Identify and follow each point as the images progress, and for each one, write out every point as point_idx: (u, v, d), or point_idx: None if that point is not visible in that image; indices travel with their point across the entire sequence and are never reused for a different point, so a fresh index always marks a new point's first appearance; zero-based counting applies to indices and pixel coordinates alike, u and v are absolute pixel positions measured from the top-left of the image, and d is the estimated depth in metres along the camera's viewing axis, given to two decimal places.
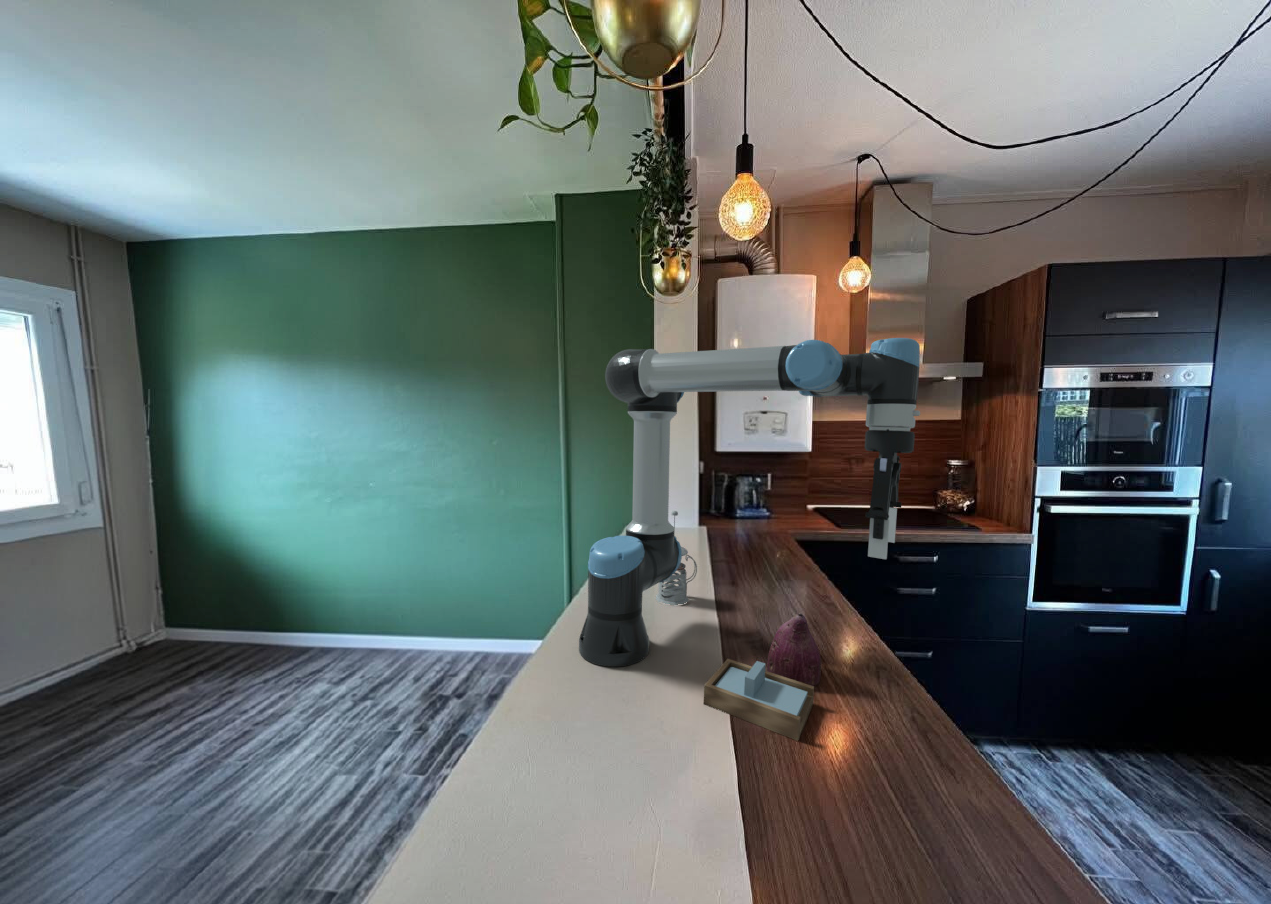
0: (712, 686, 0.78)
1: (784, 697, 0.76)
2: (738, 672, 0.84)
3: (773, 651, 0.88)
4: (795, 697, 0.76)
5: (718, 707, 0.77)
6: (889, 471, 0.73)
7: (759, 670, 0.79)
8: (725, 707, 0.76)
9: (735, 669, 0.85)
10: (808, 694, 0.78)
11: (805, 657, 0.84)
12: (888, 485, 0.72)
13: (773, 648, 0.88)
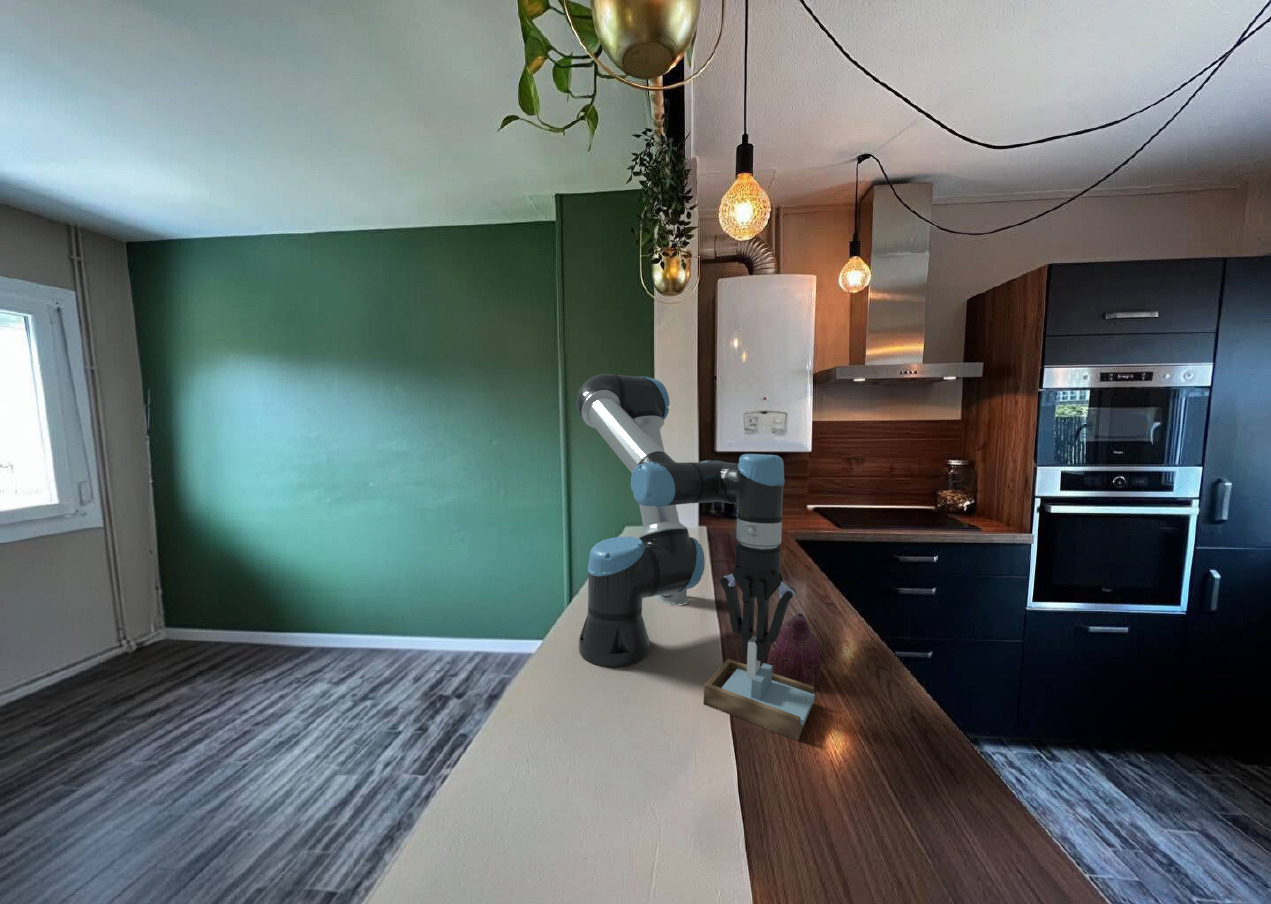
0: (712, 686, 0.78)
1: (791, 700, 0.76)
2: (744, 674, 0.83)
3: (773, 651, 0.88)
4: (803, 700, 0.76)
5: (718, 707, 0.77)
6: (725, 590, 0.80)
7: (766, 672, 0.78)
8: (725, 707, 0.76)
9: (742, 671, 0.84)
10: None
11: (805, 657, 0.84)
12: (727, 603, 0.80)
13: (773, 648, 0.88)
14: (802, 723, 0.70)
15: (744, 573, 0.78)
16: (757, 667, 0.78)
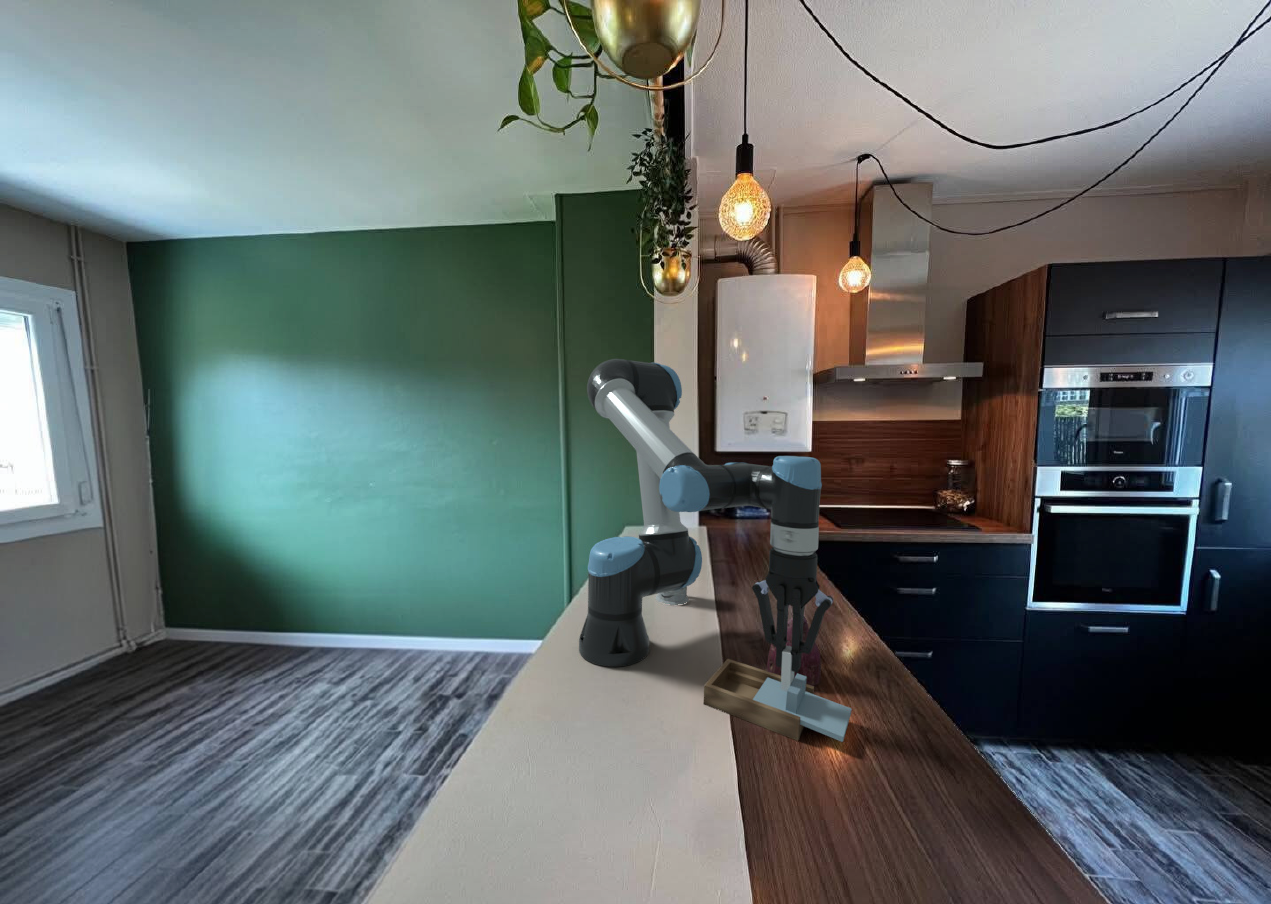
0: (712, 686, 0.78)
1: (828, 714, 0.72)
2: (776, 684, 0.80)
3: (773, 651, 0.88)
4: (839, 714, 0.72)
5: (718, 707, 0.77)
6: (757, 597, 0.77)
7: (801, 683, 0.75)
8: (725, 707, 0.76)
9: (772, 680, 0.81)
10: None
11: (805, 657, 0.84)
12: (760, 611, 0.77)
13: (773, 648, 0.88)
14: (841, 740, 0.67)
15: (778, 580, 0.75)
16: (791, 678, 0.75)
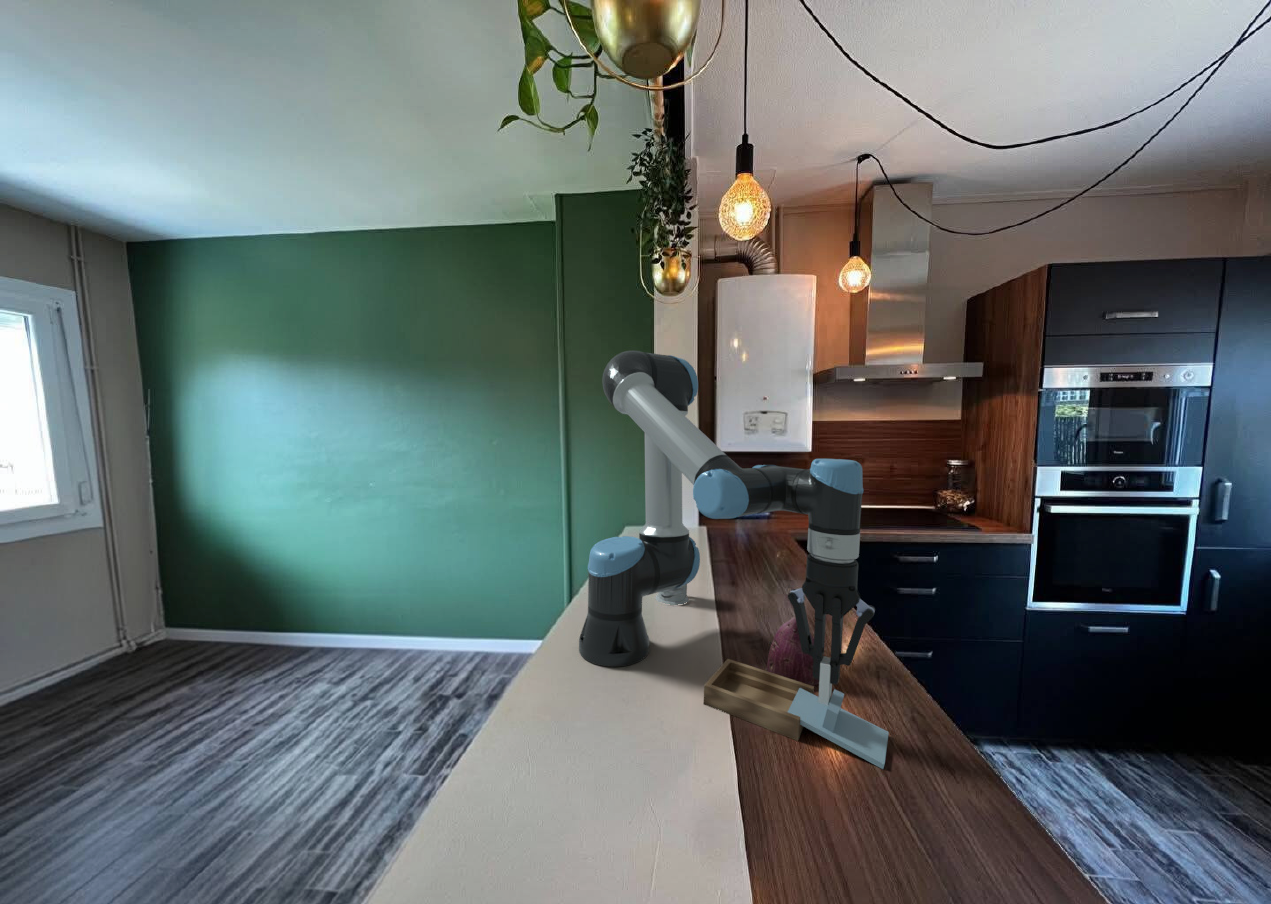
0: (712, 686, 0.78)
1: (866, 736, 0.69)
2: (809, 696, 0.77)
3: (773, 651, 0.88)
4: (877, 737, 0.70)
5: (718, 707, 0.77)
6: (793, 606, 0.74)
7: (840, 701, 0.72)
8: (725, 707, 0.76)
9: (805, 692, 0.78)
10: None
11: (805, 657, 0.84)
12: (796, 621, 0.73)
13: (773, 648, 0.88)
14: (882, 767, 0.64)
15: (816, 588, 0.72)
16: (830, 690, 0.72)
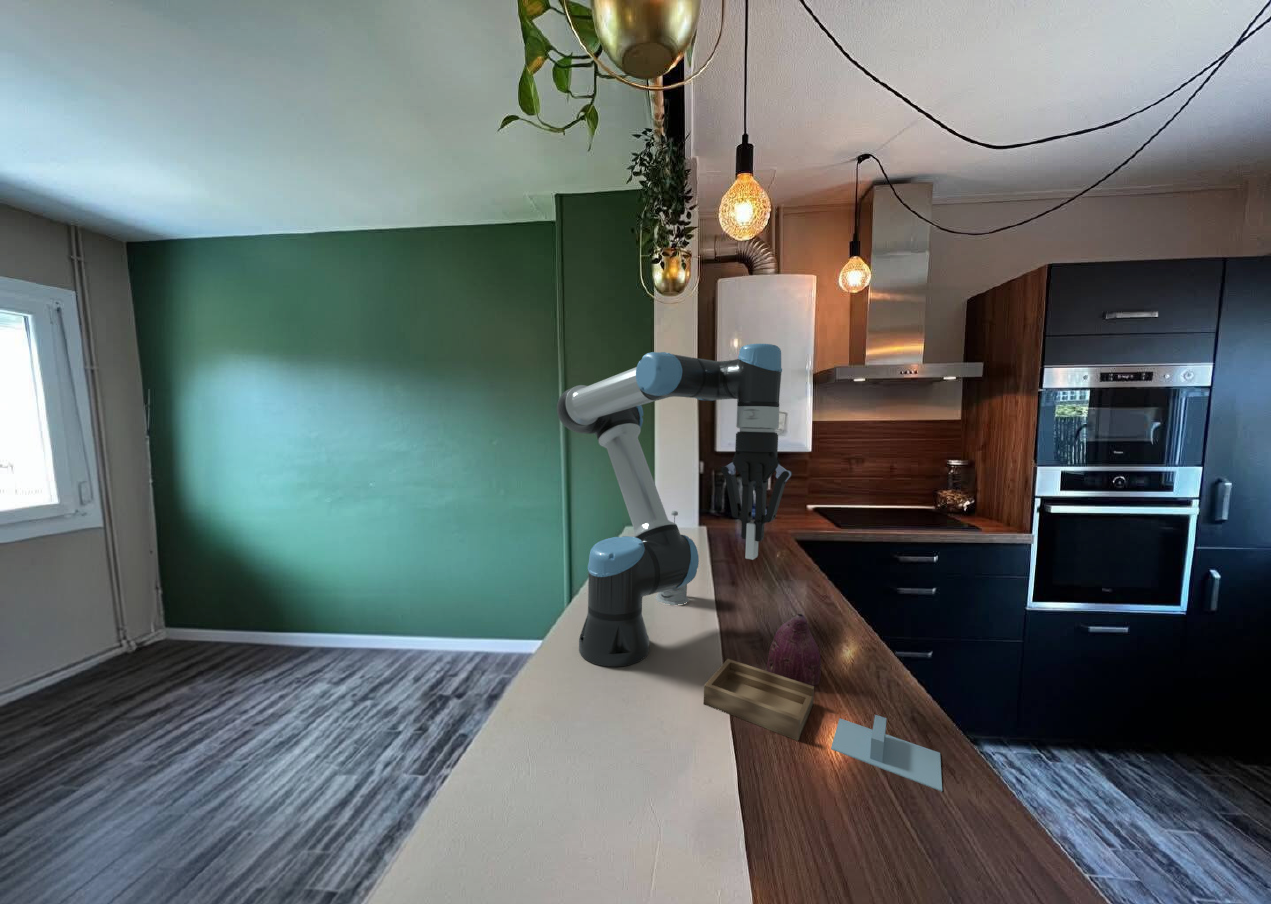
0: (712, 686, 0.78)
1: (917, 761, 0.66)
2: (851, 726, 0.73)
3: (773, 651, 0.88)
4: (929, 761, 0.66)
5: (718, 707, 0.77)
6: (725, 477, 0.85)
7: (883, 727, 0.68)
8: (725, 707, 0.76)
9: (846, 722, 0.74)
10: (808, 694, 0.78)
11: (805, 657, 0.84)
12: (727, 490, 0.85)
13: (773, 648, 0.88)
14: None
15: (743, 459, 0.83)
16: (755, 548, 0.83)
